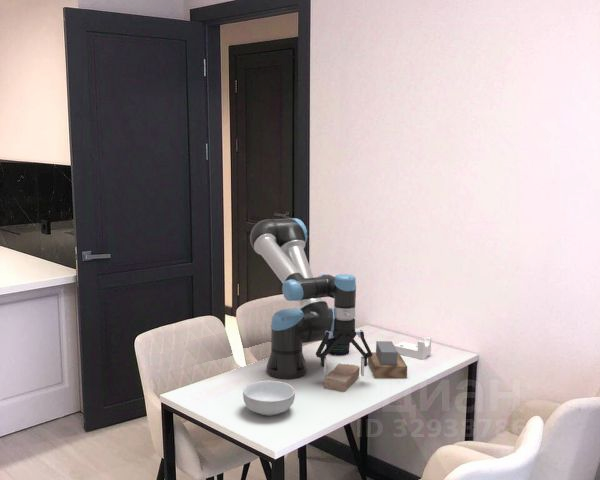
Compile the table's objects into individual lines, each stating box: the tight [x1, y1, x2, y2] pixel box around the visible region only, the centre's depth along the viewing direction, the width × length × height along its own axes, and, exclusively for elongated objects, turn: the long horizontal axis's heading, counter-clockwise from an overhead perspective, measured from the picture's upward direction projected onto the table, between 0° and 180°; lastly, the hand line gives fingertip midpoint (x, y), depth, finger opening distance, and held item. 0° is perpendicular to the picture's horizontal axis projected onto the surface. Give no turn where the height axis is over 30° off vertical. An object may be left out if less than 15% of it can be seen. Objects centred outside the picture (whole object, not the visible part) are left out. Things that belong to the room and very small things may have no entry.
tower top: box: [375, 340, 398, 365], centre depth 250 cm, size 6×13×5 cm, turn 2°
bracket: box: [394, 336, 432, 361], centre depth 269 cm, size 13×7×8 cm, turn 54°
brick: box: [323, 363, 361, 393], centre depth 238 cm, size 17×8×5 cm, turn 157°
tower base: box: [367, 351, 408, 379], centre depth 251 cm, size 12×16×5 cm
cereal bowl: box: [242, 380, 296, 417], centre depth 212 cm, size 17×17×7 cm
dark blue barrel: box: [325, 337, 351, 357], centre depth 270 cm, size 10×10×15 cm
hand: (343, 375), depth 237 cm, fingers open, 13 cm apart
